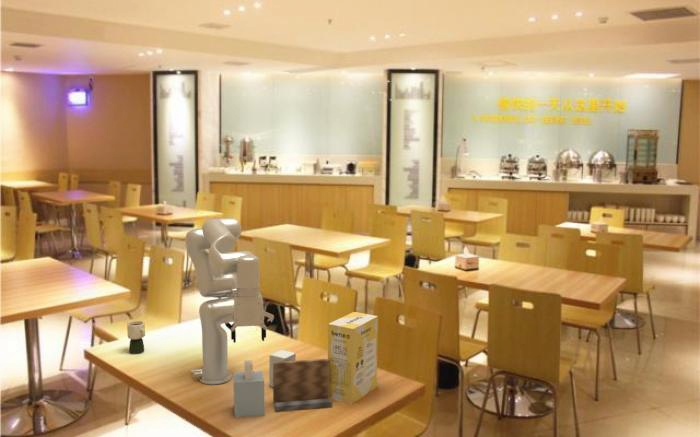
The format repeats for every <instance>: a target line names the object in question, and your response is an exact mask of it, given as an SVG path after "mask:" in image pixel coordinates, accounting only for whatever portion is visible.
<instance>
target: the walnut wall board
mask: <svg viewBox="0 0 700 437" xmlns="http://www.w3.org/2000/svg"><path fill="white" fill-rule="evenodd" d="M272 389H273V390H272V395H273V396H272V397H273V398H272V404H274V411H275V413H277V412H278V413H279V412H289V411H290V412H291V411H303V410H315V409H328V408H333V401H332V399H331V398H329V359H328V358H319V359H306V360H305V359H304V360H302V359H301V360H295V361H285V362H273V387H272Z"/></svg>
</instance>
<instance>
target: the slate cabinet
mask: <svg viewBox="0 0 700 437" xmlns="http://www.w3.org/2000/svg"><path fill="white" fill-rule="evenodd" d="M253 369H254V365H253V359H248V360H247V359H246V360H245V359H244V371H239V372H233V373H232V377H233V409H234V418H235V419H236V418H237V419H239V418H250V417H260V416H265V378H264V373H263V371H262V370H255V371H254V370H253Z"/></svg>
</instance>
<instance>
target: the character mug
mask: <svg viewBox="0 0 700 437" xmlns="http://www.w3.org/2000/svg"><path fill="white" fill-rule="evenodd" d="M145 324H146V323H145V321H143V320H132V321H129V322H127V325H126V330H127V338H128V339H129V347H128V348H129V349H128V352H129V353H132V354H136V353H138V352H139V353H141V352H144V351H145V344H144V339H143V338H144V337H145V336H146V330H145V329H146V328H145Z"/></svg>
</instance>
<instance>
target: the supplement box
mask: <svg viewBox="0 0 700 437" xmlns="http://www.w3.org/2000/svg"><path fill="white" fill-rule="evenodd" d="M296 359H297V358H296V352H292V351H288V350H284V349H280V350H278V351H275V352H273V353H271V354H269V384H268V385H269V387H271V388H273V362H285V361H296Z"/></svg>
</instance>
